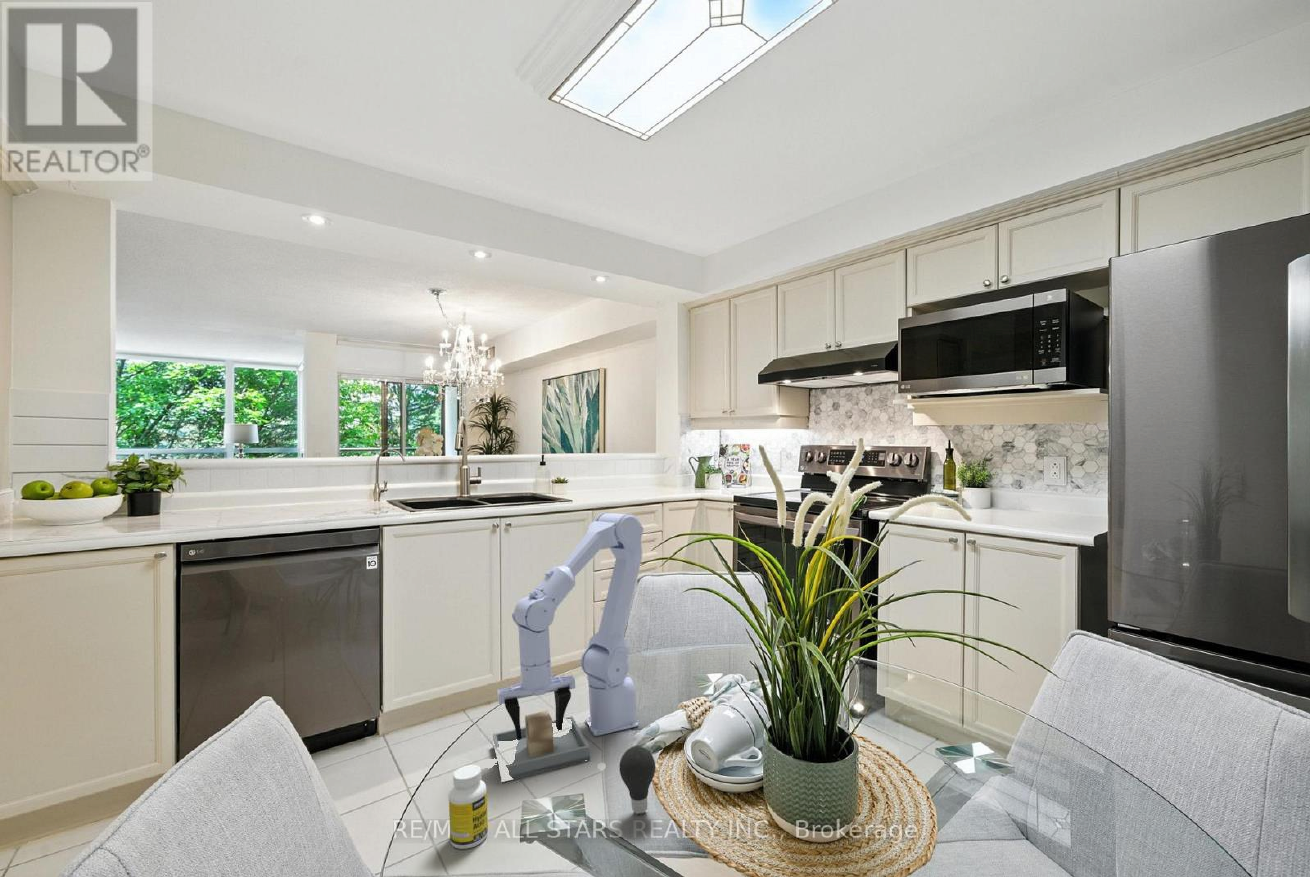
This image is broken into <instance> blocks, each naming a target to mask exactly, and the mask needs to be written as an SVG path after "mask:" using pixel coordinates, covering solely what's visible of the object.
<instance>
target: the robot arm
mask: <svg viewBox="0 0 1310 877" xmlns="http://www.w3.org/2000/svg"><path fill="white" fill-rule="evenodd" d="M643 533H644V527H643V526H642V523H641V521H640V520H639V518H638V517H637V516H636V515H635V514H633V513H611V512H608V511H607V512H606V511H605V512H602V513H599V514H598V515H597V517H596V519H595V520H593V521H592V522H591V523H590V524H589V527H588V531H587V532H586V533H585V534H584V536H583V537H582V539H581V540H580V542H578V544H577V546H576V547H575V548H574V549H573V551H572V552H571V553H570V555H569V556H568V557H567V559H566V560H565V561H564V563H563V564H562V565H559V566H553V567H552V569H547V570H546V571H545V573H544V575H545V577H543V579H542V580H541V581H540V582H539V584H537V586H536V587H535V588H534V589H531V590H530V591H529V596H526V597H523V598H521V599H520V600H519V601H518V602H517V603H516V605H515V608H514V610H513V613H511V618H512V621H513V622H514V624H516V626H517V627H518V628H517V629H518V644H519V662H520V682H519V683H517V684H514V685H511V686H508V687H504V688H501V689H497V690H496V691H497V692H496V693H497V702H498V704H499V705H500V704H502V705H503V704H504V707H505V710H506V712H507V713H508V715H509V717H510V719H511V722H512V723H513V726H514V728H515V730H516V737H517V740H520V739H521V728H522V727H521V720H520V718H521V712H520V710H521V706H520V704H519V699H522V698H528V697H534V696H535V697H539V696H542V695H543V696H544V695H545V694H548V693H552V692H554V694H553V695H554V702H555V720H556V727H557V729H558V731H559V730H562V723H563V718H565V715H566V714H565V713H566V710H567V707H568V704H569V703H570V701H571V698H572V691H571V690H574V689H576V681H575V680H576V678H575V676H573V675H567V676H565V675H564V676H553V677H552V660H551V659H552V658H551V646H550V629H549V628H550V627H549V626H551V625H553V622H554V620H555V615H556V614H555V613H556V610H557V608H559V605H560V604H561V603H562V602H563V601H564V600H565V598H566V597H567V596H568V595H569V593H570V592H571V591H572V590H573V588H574V587H575V586H576V576H577V575H578V574H579V573H580V572H581V571H582V570H583V569H584V568H585V567H586V566H587V564H588V563H589V562H590V561H591V560H592V559H593V558H594V557H595V556H596V554H598V552H600V550H602V549H606V548H608V549H609V550H610V551H611V552H612V554H613V556H614V558H615V561H614V565H613V568H612V569H613V570H612V574H611V578H610V583H609V585H608V590H607V595H606V597H605V598H606V599H605V603H604V606H603V610H602V616H601V620H600V624H599V628H598V631H597V632H596V633H595V634H593V635H592V636H591V637H590V638H589V642H588V644H587V646H586V649H585V650H584V651H583V653H582V655H581V659H580V666H581V670H582V671H583V673H585V674H586V679H587V683H588V698H589V702H588V703H589V717H586V718H585V719H584V722H585V721H586V722H591V726H589V727H588V728H589V729H590V732H591V733H592V732H593V733H592V735H593V737H599V736H602V735H607V734H611V733H614V732H618V731H623V730H628V729H631V728H635V727H638V726H639V722H638V714H637V713H638V712H637V697H636V688H635V684H634V680H633V679H632V678H631V677H630V676H628V673H629V670H630V662H629V653H630V647H629V646H628V644H627V641H626V640H625V637H624V636H625V634H626V629H627V628H626V627H627V624H628V618H629V615H630V611H631V606H632V603H633V597H634V593H635V588H636V584H637V579H638V576H639V572H640V571H639V570H640V566H641V562H642V557H643V549H642V548H643V547H642V536H643ZM586 722H585V723H586Z"/></svg>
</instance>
